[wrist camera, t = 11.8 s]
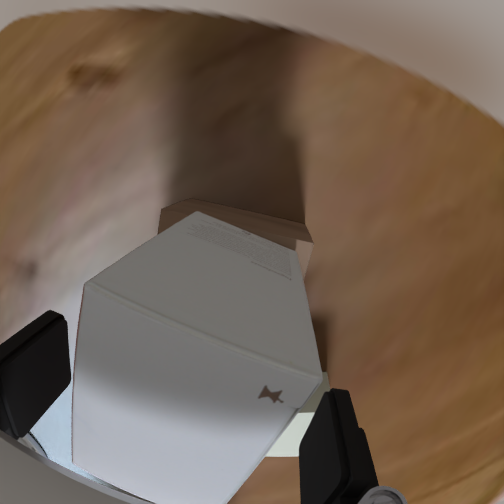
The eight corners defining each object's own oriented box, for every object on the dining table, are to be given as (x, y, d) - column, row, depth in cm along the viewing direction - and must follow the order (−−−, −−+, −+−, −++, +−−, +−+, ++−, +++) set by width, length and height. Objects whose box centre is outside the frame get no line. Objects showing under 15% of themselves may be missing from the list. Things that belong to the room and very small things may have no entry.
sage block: (322, 414, 26) (327, 454, 21) (266, 415, 26) (262, 456, 21) (326, 371, 25) (334, 411, 20) (265, 372, 25) (261, 413, 20)
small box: (197, 208, 16) (80, 271, 6) (299, 250, 16) (332, 376, 6) (154, 335, 18) (66, 465, 8) (241, 371, 18) (212, 525, 8)
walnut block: (277, 326, 24) (275, 372, 18) (174, 301, 24) (146, 339, 18) (304, 223, 22) (313, 243, 16) (191, 197, 22) (161, 208, 16)
